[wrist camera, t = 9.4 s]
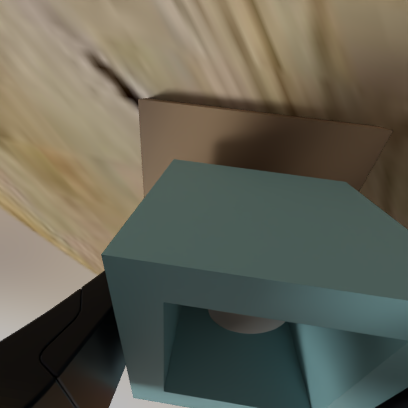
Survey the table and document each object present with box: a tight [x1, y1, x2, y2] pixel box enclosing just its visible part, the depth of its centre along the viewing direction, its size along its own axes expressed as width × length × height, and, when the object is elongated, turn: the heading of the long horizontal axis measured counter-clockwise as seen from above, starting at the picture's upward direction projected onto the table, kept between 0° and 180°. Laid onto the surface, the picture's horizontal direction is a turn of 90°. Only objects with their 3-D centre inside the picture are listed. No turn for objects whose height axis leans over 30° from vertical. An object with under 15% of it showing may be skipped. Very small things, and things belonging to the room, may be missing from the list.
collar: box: [101, 159, 408, 408], centre depth 7 cm, size 6×6×5 cm
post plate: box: [138, 98, 393, 334], centre depth 9 cm, size 10×10×6 cm
